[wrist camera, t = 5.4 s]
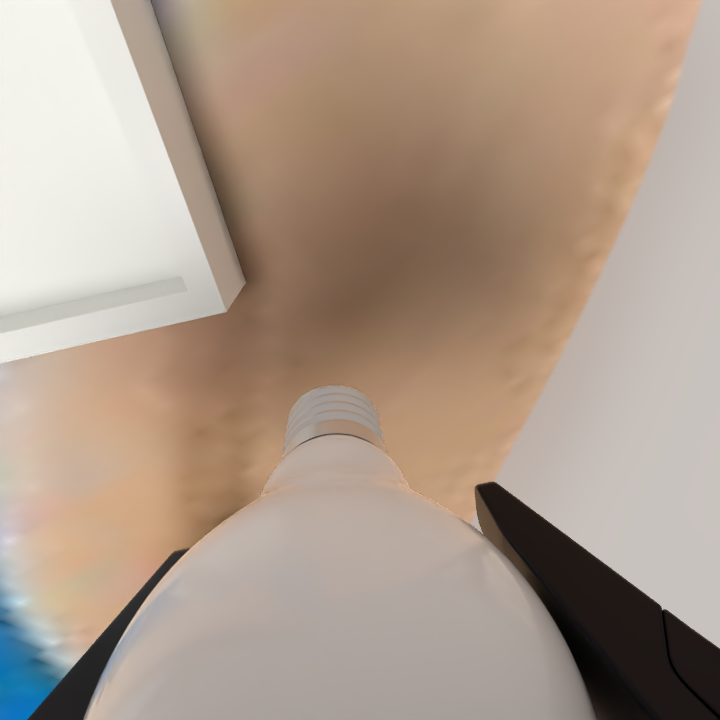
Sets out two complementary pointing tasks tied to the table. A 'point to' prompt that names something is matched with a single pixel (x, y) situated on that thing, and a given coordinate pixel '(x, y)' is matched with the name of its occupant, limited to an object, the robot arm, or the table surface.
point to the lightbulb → (341, 603)
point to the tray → (100, 182)
